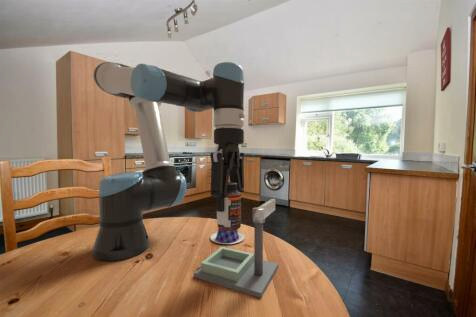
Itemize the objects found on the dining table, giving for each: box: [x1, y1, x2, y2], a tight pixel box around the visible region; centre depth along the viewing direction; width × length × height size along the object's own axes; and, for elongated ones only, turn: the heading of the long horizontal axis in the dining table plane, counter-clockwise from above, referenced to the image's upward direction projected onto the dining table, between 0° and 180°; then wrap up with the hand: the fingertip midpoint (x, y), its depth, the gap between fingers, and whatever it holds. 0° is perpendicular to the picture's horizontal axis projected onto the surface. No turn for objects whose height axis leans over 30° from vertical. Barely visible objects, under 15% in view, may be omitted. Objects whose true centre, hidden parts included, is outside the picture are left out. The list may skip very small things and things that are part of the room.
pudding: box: [210, 227, 245, 245], centre depth 75 cm, size 12×12×5 cm
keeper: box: [252, 198, 276, 224], centre depth 56 cm, size 13×3×3 cm, turn 154°
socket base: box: [193, 222, 279, 299], centre depth 54 cm, size 17×13×13 cm
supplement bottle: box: [217, 181, 242, 231], centre depth 54 cm, size 6×6×11 cm
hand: (229, 220), depth 54 cm, fingers closed on supplement bottle, 6 cm apart
